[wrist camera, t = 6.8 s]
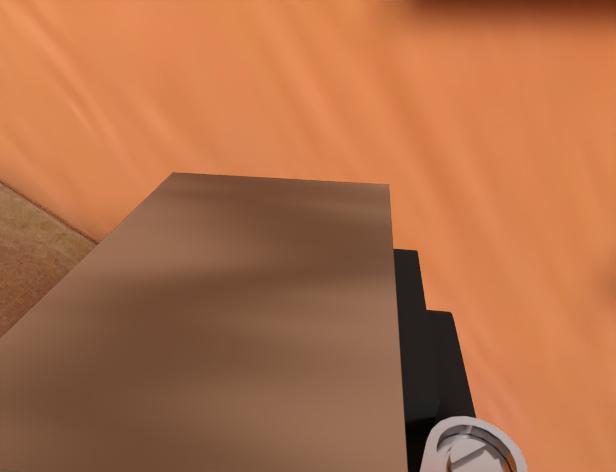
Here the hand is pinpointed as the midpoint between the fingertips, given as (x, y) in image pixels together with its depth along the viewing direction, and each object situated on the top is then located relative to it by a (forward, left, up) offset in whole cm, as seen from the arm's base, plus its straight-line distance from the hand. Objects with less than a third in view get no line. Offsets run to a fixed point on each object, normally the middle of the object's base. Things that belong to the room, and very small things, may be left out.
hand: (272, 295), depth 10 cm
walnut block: (0, 0, -1) cm, 1 cm away
